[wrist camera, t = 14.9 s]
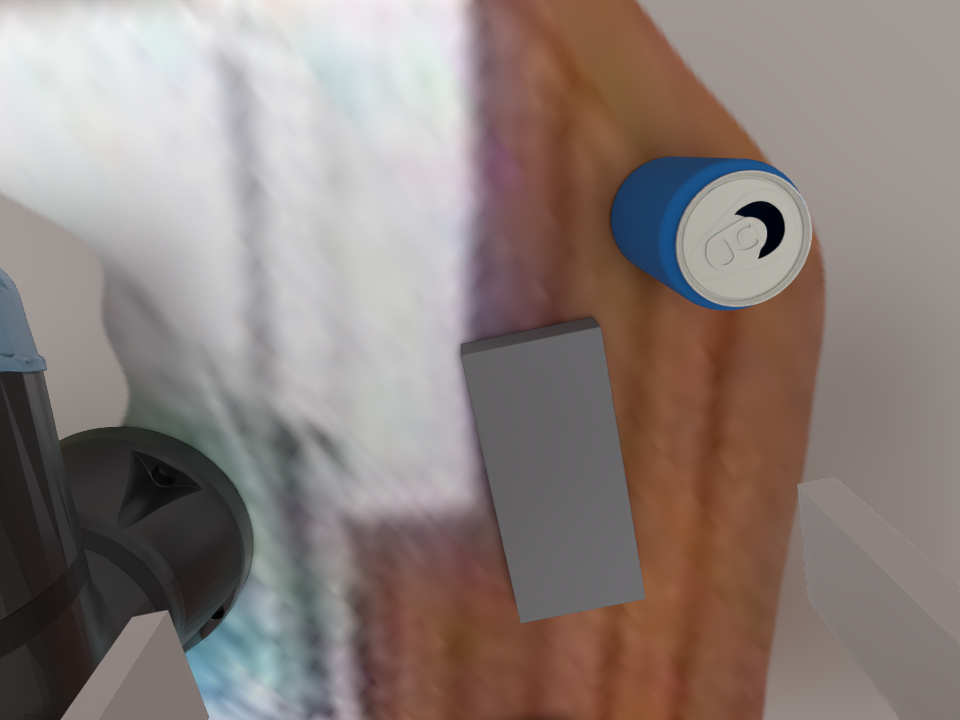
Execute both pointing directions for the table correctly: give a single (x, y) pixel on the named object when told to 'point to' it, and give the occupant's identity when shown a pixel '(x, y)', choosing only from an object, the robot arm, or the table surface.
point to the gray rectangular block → (555, 467)
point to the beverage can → (713, 228)
